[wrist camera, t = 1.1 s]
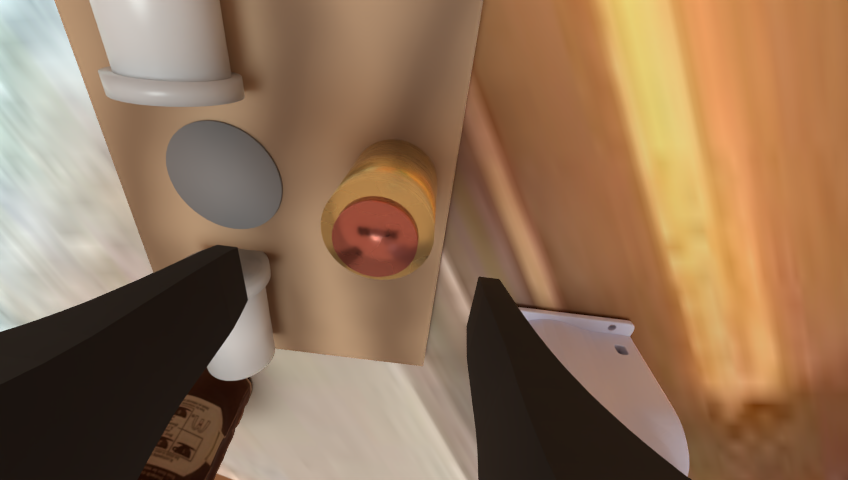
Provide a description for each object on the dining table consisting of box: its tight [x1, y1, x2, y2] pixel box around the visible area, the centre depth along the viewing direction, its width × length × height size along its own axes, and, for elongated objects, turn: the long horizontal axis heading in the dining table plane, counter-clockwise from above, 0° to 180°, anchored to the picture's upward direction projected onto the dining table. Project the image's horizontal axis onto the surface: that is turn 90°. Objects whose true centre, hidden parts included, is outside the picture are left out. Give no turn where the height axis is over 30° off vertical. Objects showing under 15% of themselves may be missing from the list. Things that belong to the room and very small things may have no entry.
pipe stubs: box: [89, 0, 275, 381], centre depth 17 cm, size 5×23×5 cm, turn 174°
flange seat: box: [166, 120, 283, 229], centre depth 18 cm, size 6×6×1 cm
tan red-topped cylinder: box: [321, 139, 437, 280], centre depth 15 cm, size 4×4×6 cm
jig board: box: [54, 0, 483, 366], centre depth 19 cm, size 18×26×1 cm
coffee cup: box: [138, 367, 252, 480], centre depth 24 cm, size 9×8×13 cm
